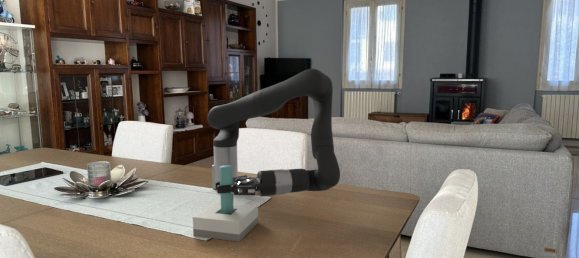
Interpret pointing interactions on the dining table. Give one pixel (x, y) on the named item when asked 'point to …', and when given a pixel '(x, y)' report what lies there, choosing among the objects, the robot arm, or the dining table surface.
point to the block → (225, 222)
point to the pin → (226, 197)
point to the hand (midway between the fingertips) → (216, 187)
